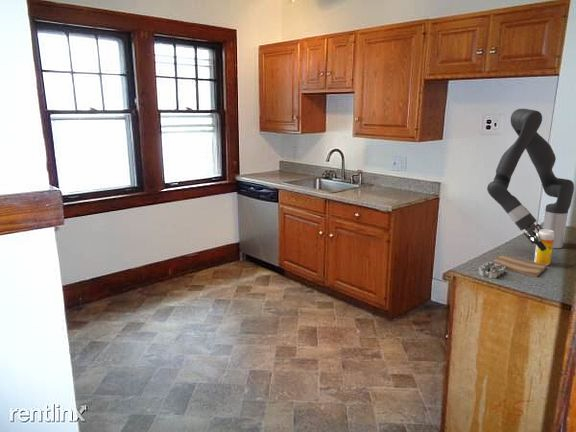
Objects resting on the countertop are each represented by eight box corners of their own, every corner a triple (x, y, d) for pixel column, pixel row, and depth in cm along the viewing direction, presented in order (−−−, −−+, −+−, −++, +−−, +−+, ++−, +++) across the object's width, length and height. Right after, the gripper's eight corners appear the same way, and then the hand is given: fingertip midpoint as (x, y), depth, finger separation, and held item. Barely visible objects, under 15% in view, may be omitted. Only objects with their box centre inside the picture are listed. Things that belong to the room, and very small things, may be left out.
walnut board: (501, 258, 186) (501, 255, 186) (546, 268, 174) (546, 265, 173) (490, 265, 178) (490, 262, 177) (536, 277, 165) (536, 273, 165)
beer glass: (552, 266, 176) (557, 233, 172) (536, 265, 177) (541, 232, 173) (546, 261, 181) (551, 229, 178) (531, 260, 182) (536, 228, 179)
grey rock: (493, 280, 164) (494, 270, 163) (475, 274, 170) (476, 265, 169) (506, 273, 170) (507, 264, 169) (488, 268, 176) (489, 259, 175)
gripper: (523, 215, 174) (550, 247, 169) (534, 209, 184) (560, 239, 178) (508, 225, 179) (534, 256, 174) (520, 219, 189) (544, 248, 183)
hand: (547, 247), depth 176 cm, fingers open, 8 cm apart
